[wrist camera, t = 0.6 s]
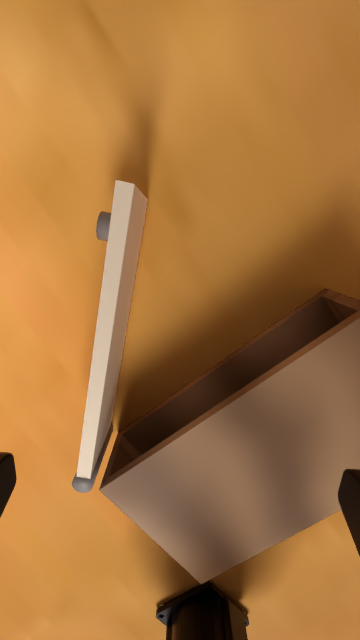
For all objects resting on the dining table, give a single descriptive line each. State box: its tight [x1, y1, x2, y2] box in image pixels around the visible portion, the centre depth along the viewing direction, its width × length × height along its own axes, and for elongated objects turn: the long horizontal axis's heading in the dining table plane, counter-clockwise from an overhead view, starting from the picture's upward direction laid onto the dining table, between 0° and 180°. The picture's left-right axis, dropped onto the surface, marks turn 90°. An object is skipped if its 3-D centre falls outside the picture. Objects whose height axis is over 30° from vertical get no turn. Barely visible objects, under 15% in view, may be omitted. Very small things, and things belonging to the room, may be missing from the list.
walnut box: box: [99, 289, 360, 584], centre depth 18 cm, size 18×10×5 cm, turn 128°
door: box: [72, 180, 148, 493], centre depth 17 cm, size 17×2×5 cm, turn 168°
